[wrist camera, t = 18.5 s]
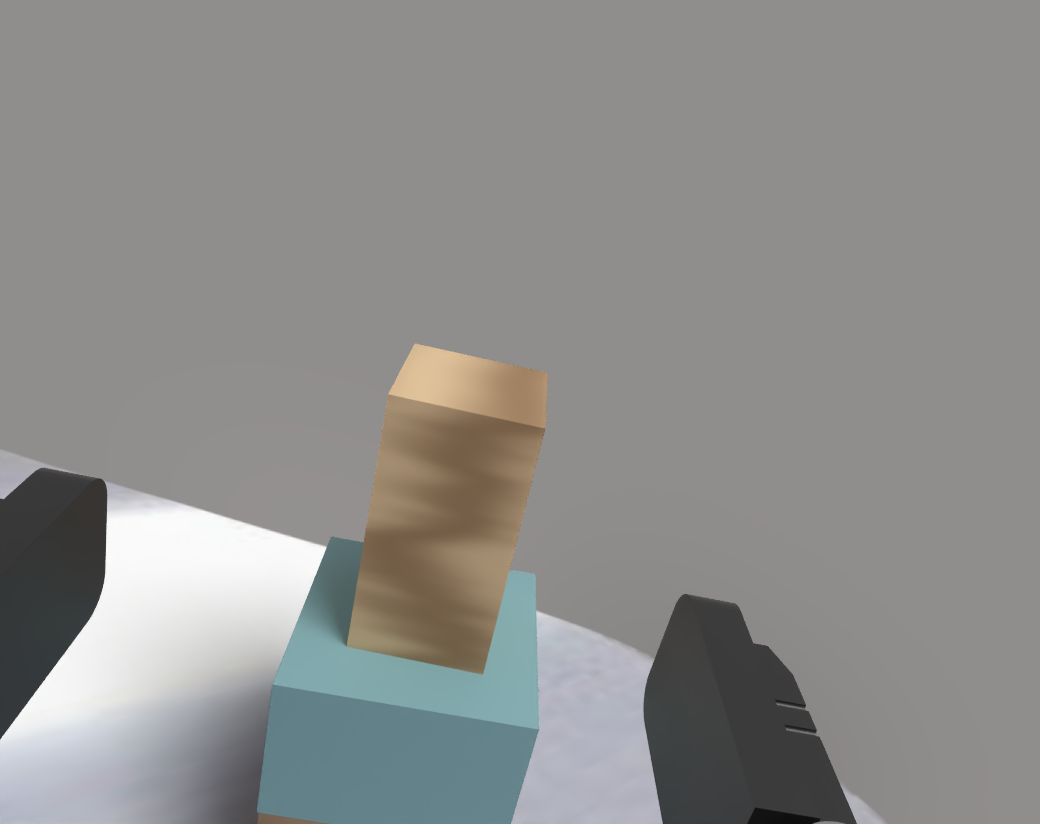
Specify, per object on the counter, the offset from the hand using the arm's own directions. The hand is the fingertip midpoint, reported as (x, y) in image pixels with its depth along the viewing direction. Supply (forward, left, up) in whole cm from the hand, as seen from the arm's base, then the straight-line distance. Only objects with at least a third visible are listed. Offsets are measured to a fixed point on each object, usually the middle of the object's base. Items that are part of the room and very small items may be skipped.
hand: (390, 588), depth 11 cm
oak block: (+1, +16, -13) cm, 21 cm away
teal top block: (+1, +16, -19) cm, 25 cm away
